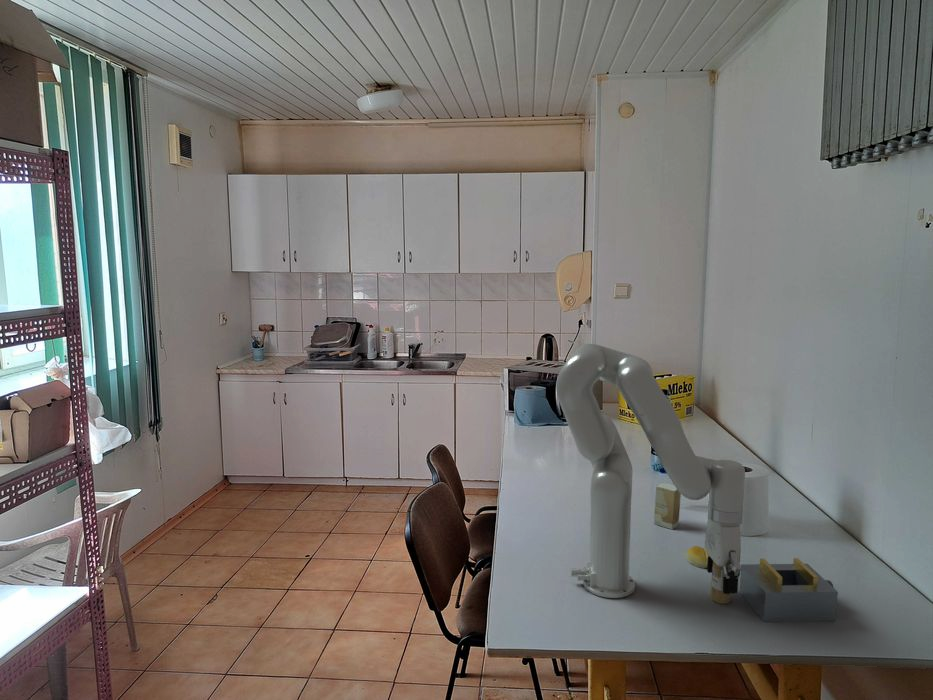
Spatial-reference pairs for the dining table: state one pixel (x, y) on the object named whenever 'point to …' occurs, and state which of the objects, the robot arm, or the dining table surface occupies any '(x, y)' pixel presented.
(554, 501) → the dining table surface
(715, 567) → the sprinkles bottle
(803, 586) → the grey holder box
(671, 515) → the skincare box
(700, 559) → the bread roll
